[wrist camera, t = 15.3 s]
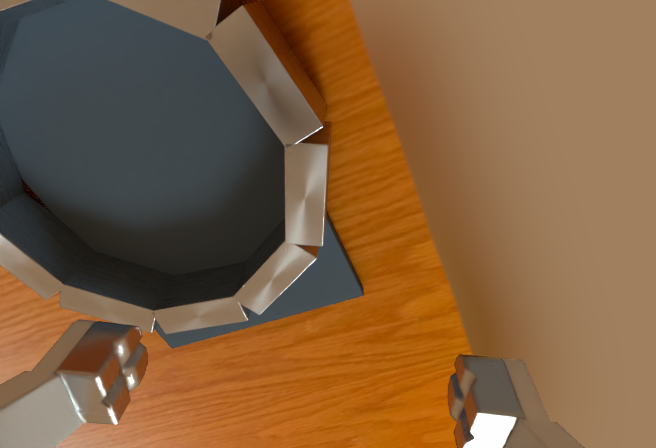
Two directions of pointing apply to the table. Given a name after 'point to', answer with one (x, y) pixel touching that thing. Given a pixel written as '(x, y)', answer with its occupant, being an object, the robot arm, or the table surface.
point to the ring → (206, 285)
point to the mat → (152, 151)
